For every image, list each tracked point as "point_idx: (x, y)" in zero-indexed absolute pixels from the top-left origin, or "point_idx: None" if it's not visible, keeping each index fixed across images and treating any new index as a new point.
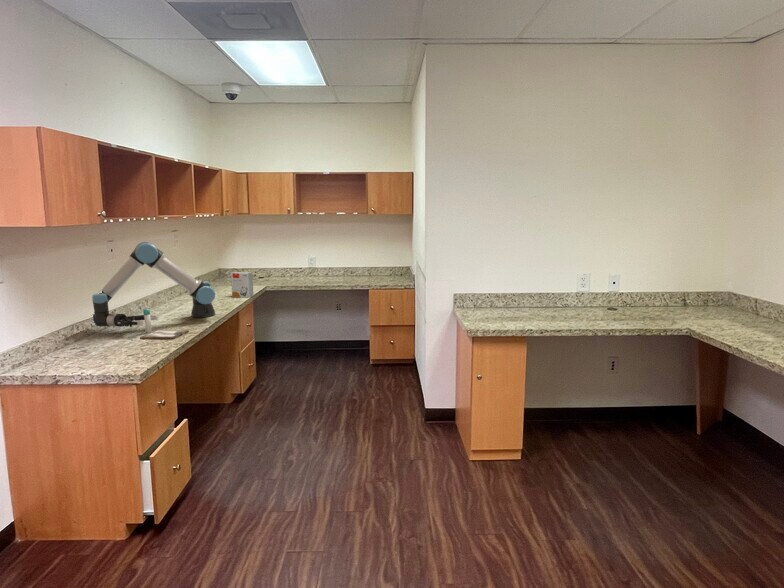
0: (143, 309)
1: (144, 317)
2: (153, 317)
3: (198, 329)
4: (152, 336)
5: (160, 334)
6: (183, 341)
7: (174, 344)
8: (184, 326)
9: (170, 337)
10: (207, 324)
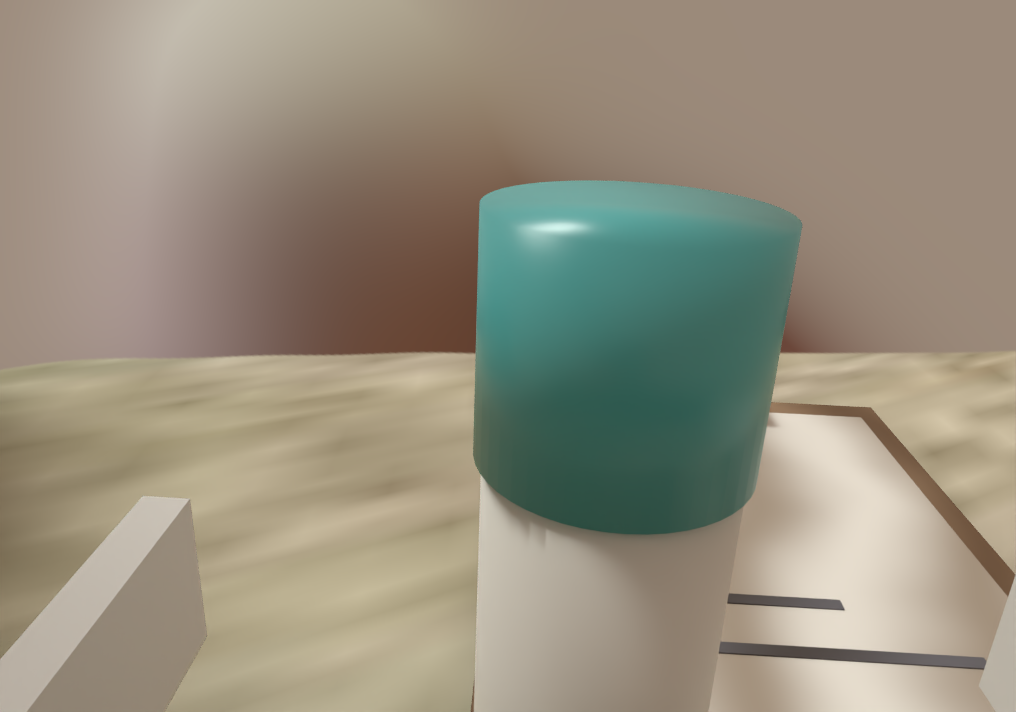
0: (738, 240)
1: (721, 614)
2: (123, 664)
3: (370, 381)
4: (1004, 594)
5: (824, 546)
6: (880, 362)
7: (1009, 380)
8: (77, 530)
9: (881, 424)
10: (97, 376)
